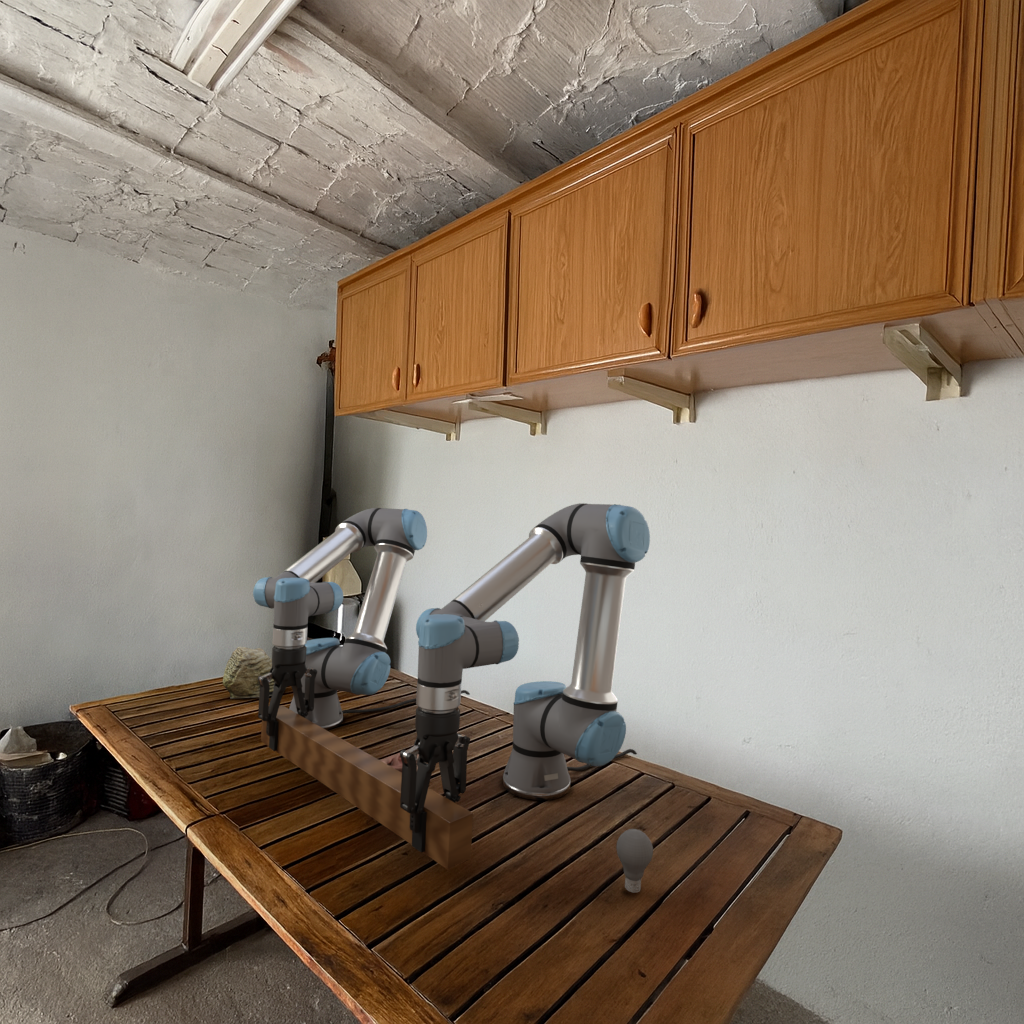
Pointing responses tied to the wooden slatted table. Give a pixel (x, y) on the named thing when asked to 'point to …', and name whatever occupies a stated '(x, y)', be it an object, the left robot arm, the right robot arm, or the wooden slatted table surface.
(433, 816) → the bar
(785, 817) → the wooden slatted table surface
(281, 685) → the left robot arm
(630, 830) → the light bulb
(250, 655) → the fossil
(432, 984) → the wooden slatted table surface
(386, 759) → the anatomical model
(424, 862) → the wooden slatted table surface
